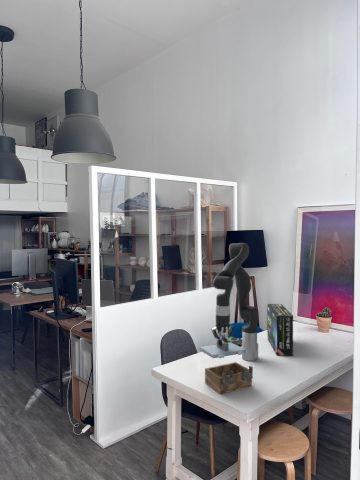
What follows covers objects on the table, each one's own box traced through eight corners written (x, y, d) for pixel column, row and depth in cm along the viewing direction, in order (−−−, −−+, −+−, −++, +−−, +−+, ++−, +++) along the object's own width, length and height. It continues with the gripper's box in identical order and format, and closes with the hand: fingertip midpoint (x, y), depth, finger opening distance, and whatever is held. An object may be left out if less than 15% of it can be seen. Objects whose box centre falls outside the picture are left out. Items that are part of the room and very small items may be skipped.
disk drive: (247, 344, 258) (229, 339, 268) (247, 340, 258) (229, 335, 268) (239, 347, 250) (221, 342, 260) (239, 343, 250) (221, 339, 260)
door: (230, 345, 204) (230, 336, 204) (247, 353, 189) (247, 344, 189) (199, 350, 195) (199, 340, 195) (215, 359, 181) (215, 349, 181)
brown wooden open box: (235, 376, 201) (235, 356, 200) (254, 387, 186) (254, 366, 186) (205, 383, 191) (205, 362, 191) (222, 395, 177) (222, 373, 177)
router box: (266, 339, 268) (266, 303, 267) (281, 339, 267) (281, 303, 266) (276, 356, 232) (276, 315, 231) (293, 356, 232) (294, 315, 231)
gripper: (229, 311, 199) (229, 342, 199) (208, 313, 193) (207, 345, 193) (237, 313, 192) (237, 346, 193) (215, 316, 186) (215, 349, 187)
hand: (222, 345), depth 193 cm, fingers closed on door, 2 cm apart
